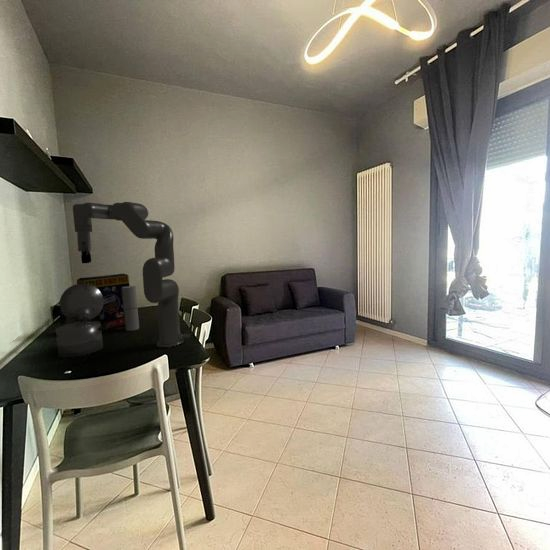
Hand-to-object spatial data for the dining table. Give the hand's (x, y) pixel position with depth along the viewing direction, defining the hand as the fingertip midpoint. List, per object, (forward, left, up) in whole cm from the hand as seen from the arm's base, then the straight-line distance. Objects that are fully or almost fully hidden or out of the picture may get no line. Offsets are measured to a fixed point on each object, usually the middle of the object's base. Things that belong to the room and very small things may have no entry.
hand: (86, 262), depth 158 cm
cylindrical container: (-17, -13, -41) cm, 46 cm away
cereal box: (-3, -25, -41) cm, 48 cm away
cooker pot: (+3, +17, -41) cm, 44 cm away
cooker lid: (+3, +5, -20) cm, 21 cm away
